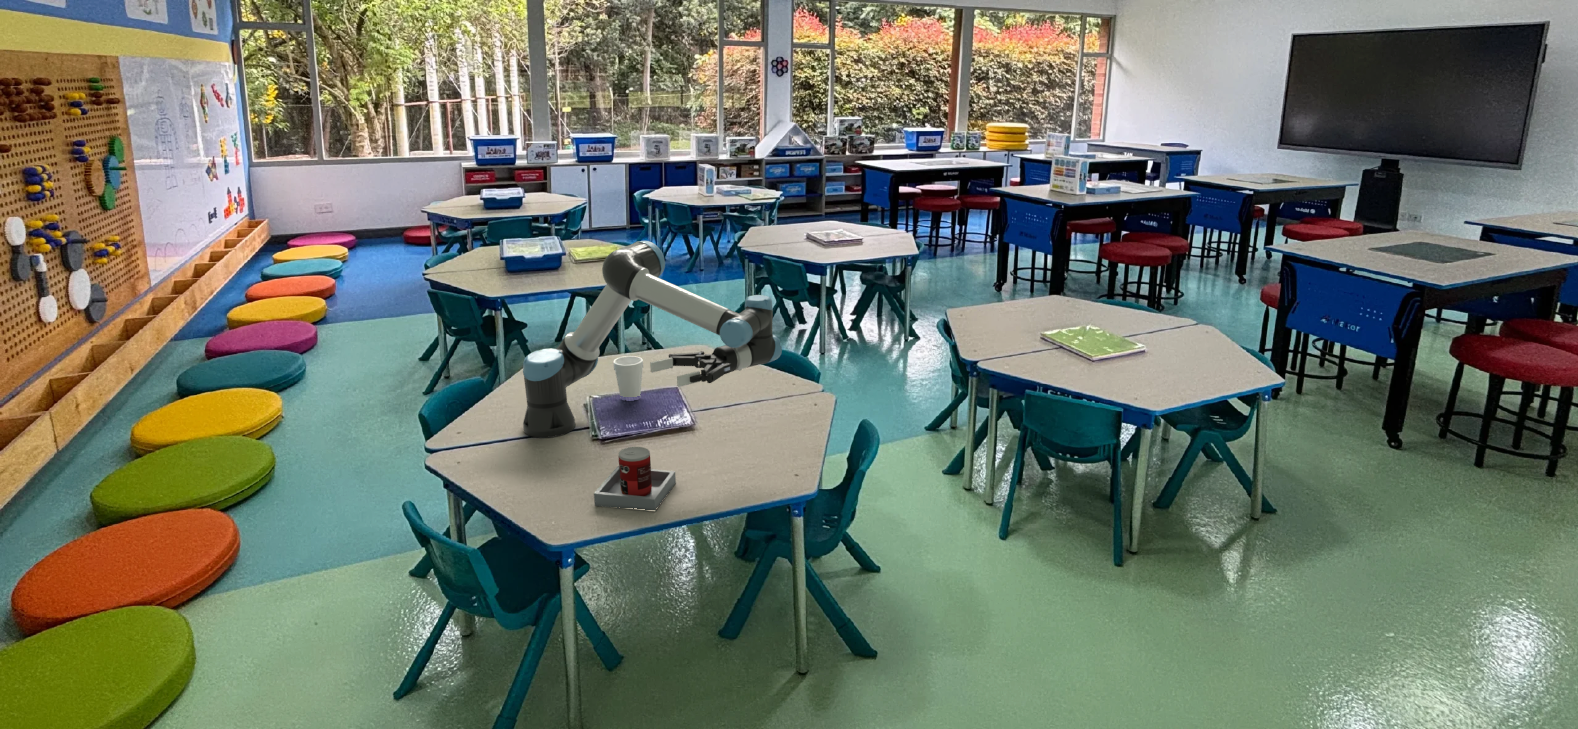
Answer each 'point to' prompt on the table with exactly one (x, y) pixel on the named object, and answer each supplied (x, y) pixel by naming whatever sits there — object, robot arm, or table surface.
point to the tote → (613, 496)
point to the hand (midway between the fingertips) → (664, 374)
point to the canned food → (635, 471)
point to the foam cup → (629, 375)
